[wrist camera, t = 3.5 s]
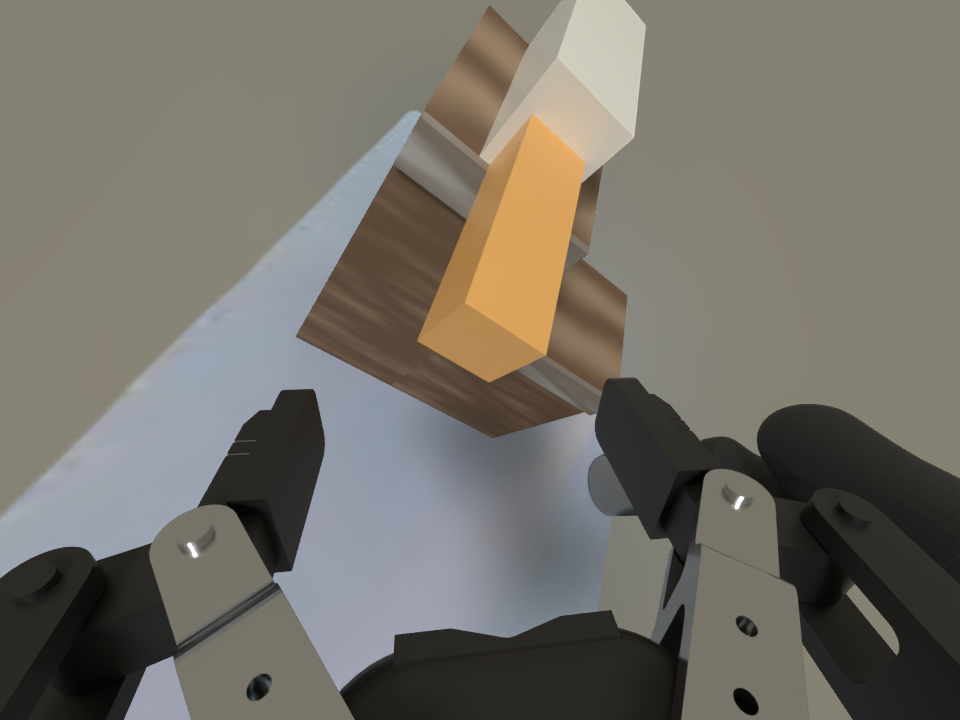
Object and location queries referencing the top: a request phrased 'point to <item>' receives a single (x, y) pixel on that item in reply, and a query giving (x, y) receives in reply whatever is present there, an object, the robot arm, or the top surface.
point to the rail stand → (428, 250)
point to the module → (537, 186)
